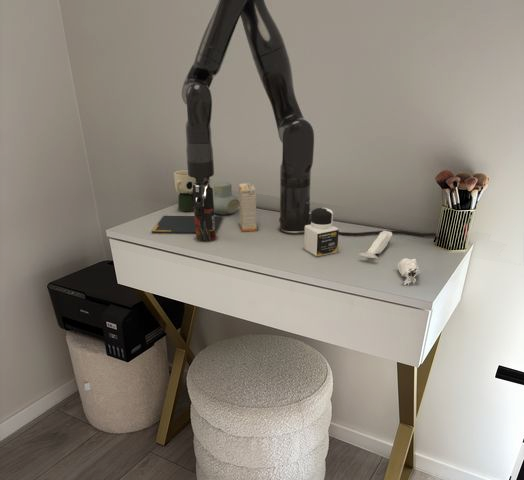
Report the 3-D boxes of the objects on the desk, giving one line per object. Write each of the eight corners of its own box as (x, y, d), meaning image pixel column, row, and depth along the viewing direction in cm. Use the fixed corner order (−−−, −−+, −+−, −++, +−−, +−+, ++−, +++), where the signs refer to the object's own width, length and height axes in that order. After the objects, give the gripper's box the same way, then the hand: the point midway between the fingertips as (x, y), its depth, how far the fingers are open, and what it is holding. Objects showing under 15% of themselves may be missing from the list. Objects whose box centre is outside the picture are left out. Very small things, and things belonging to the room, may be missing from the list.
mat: (221, 217, 181) (221, 215, 180) (214, 234, 167) (214, 231, 167) (164, 217, 182) (163, 215, 182) (152, 233, 169) (151, 231, 168)
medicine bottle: (316, 257, 150) (318, 215, 143) (303, 249, 155) (304, 208, 149) (337, 252, 153) (340, 211, 146) (324, 244, 158) (326, 204, 152)
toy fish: (395, 244, 157) (396, 231, 155) (376, 265, 144) (377, 251, 142) (377, 241, 160) (378, 228, 158) (357, 262, 146) (358, 248, 144)
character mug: (188, 215, 183) (184, 177, 177) (170, 213, 186) (166, 175, 179) (203, 206, 192) (201, 169, 185) (186, 204, 194) (183, 168, 188)
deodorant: (214, 241, 161) (211, 192, 154) (195, 241, 162) (191, 192, 154) (216, 234, 167) (213, 186, 159) (197, 235, 167) (193, 186, 159)
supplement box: (257, 230, 169) (256, 189, 162) (242, 231, 169) (240, 190, 162) (254, 222, 176) (253, 182, 169) (239, 223, 176) (238, 183, 169)
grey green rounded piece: (224, 218, 180) (222, 188, 175) (205, 214, 184) (203, 185, 179) (242, 210, 188) (241, 181, 183) (224, 206, 192) (222, 178, 186)
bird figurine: (423, 288, 134) (413, 264, 141) (424, 267, 130) (413, 243, 137) (404, 292, 135) (395, 268, 142) (404, 271, 130) (394, 247, 137)
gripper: (208, 164, 145) (211, 222, 154) (216, 153, 157) (219, 207, 166) (181, 164, 146) (186, 221, 154) (191, 153, 158) (195, 207, 166)
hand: (203, 214), depth 160 cm, fingers open, 8 cm apart
